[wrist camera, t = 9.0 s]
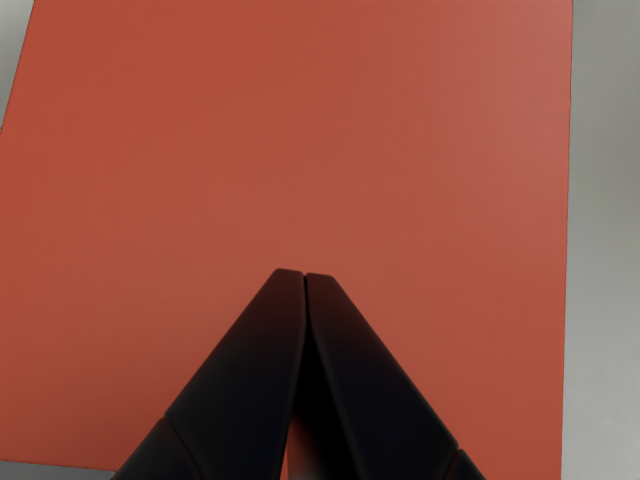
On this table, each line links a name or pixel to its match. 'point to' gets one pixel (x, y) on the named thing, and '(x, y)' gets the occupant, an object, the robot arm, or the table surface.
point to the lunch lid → (284, 206)
